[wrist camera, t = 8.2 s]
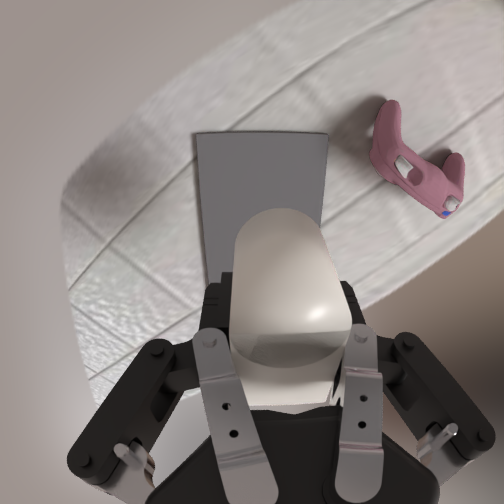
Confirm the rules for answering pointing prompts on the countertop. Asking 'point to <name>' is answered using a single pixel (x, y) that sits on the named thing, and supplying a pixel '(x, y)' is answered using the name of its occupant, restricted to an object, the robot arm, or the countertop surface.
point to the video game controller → (415, 166)
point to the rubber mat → (255, 184)
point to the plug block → (286, 310)
